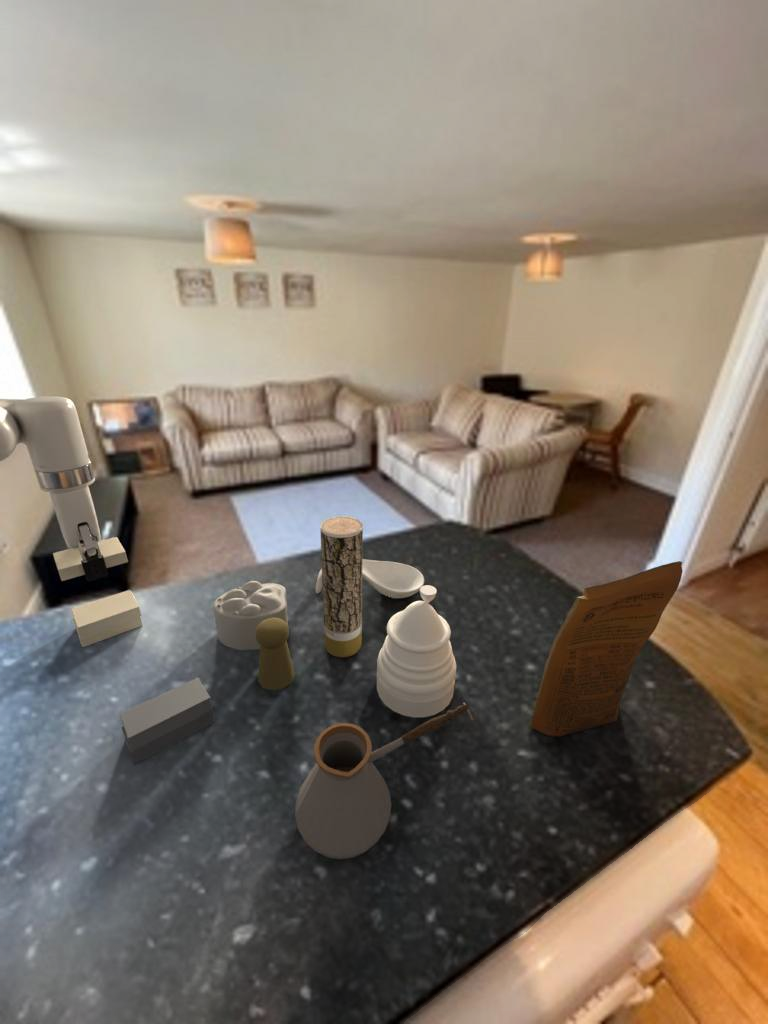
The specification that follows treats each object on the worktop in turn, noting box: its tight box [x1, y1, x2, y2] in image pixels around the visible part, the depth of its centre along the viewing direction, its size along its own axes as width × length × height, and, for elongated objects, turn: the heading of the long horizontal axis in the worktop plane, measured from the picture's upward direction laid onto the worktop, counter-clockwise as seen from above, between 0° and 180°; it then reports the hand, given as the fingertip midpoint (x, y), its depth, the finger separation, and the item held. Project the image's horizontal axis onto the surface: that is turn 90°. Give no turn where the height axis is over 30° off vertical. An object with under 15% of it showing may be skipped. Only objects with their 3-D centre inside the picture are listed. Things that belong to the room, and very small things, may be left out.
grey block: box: [119, 677, 215, 765], centre depth 64 cm, size 11×5×5 cm, turn 130°
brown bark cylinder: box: [319, 515, 364, 658], centre depth 77 cm, size 7×7×25 cm
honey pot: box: [376, 584, 457, 718], centre depth 71 cm, size 13×13×18 cm
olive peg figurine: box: [256, 618, 296, 691], centre depth 73 cm, size 6×6×11 cm
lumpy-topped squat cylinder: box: [212, 580, 290, 651], centre depth 84 cm, size 10×13×9 cm
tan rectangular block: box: [70, 589, 143, 648], centre depth 85 cm, size 10×7×4 cm
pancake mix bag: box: [528, 560, 684, 738], centre depth 63 cm, size 7×19×28 cm, turn 106°
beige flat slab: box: [52, 536, 129, 582], centre depth 79 cm, size 10×7×2 cm
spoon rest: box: [314, 558, 425, 599], centre depth 97 cm, size 24×12×7 cm, turn 91°
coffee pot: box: [294, 702, 474, 860], centre depth 53 cm, size 21×12×15 cm, turn 106°
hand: (93, 567), depth 80 cm, fingers closed on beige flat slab, 7 cm apart
